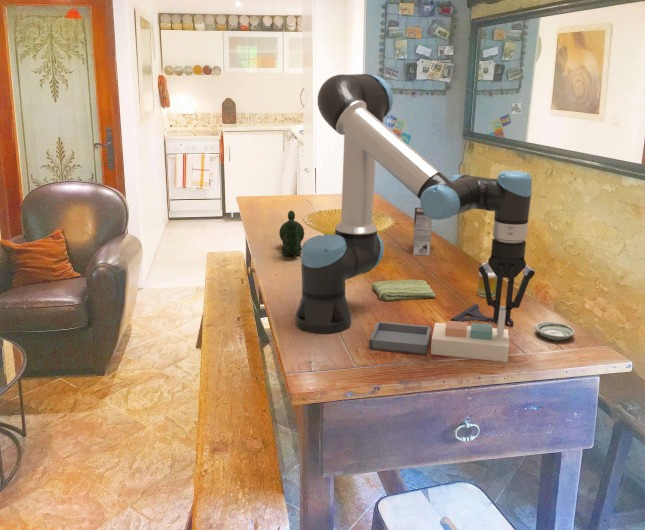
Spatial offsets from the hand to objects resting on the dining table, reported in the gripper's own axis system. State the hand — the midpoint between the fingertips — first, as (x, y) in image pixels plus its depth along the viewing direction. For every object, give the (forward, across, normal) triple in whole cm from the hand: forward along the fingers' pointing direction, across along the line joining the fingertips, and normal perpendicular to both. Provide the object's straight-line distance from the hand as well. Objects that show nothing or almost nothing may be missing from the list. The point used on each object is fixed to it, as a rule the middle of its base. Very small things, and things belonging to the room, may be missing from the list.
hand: (500, 332), depth 153 cm
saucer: (+5, +14, +13) cm, 20 cm away
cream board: (+5, -7, 0) cm, 9 cm away
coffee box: (+6, -27, +84) cm, 89 cm away
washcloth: (+6, -28, +37) cm, 46 cm away
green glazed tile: (+1, -4, 0) cm, 5 cm away
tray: (+5, -24, 0) cm, 24 cm away
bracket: (+6, -3, +20) cm, 21 cm away
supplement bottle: (+5, -3, +41) cm, 42 cm away
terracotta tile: (+1, -10, 0) cm, 10 cm away
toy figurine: (+6, -74, +71) cm, 102 cm away
